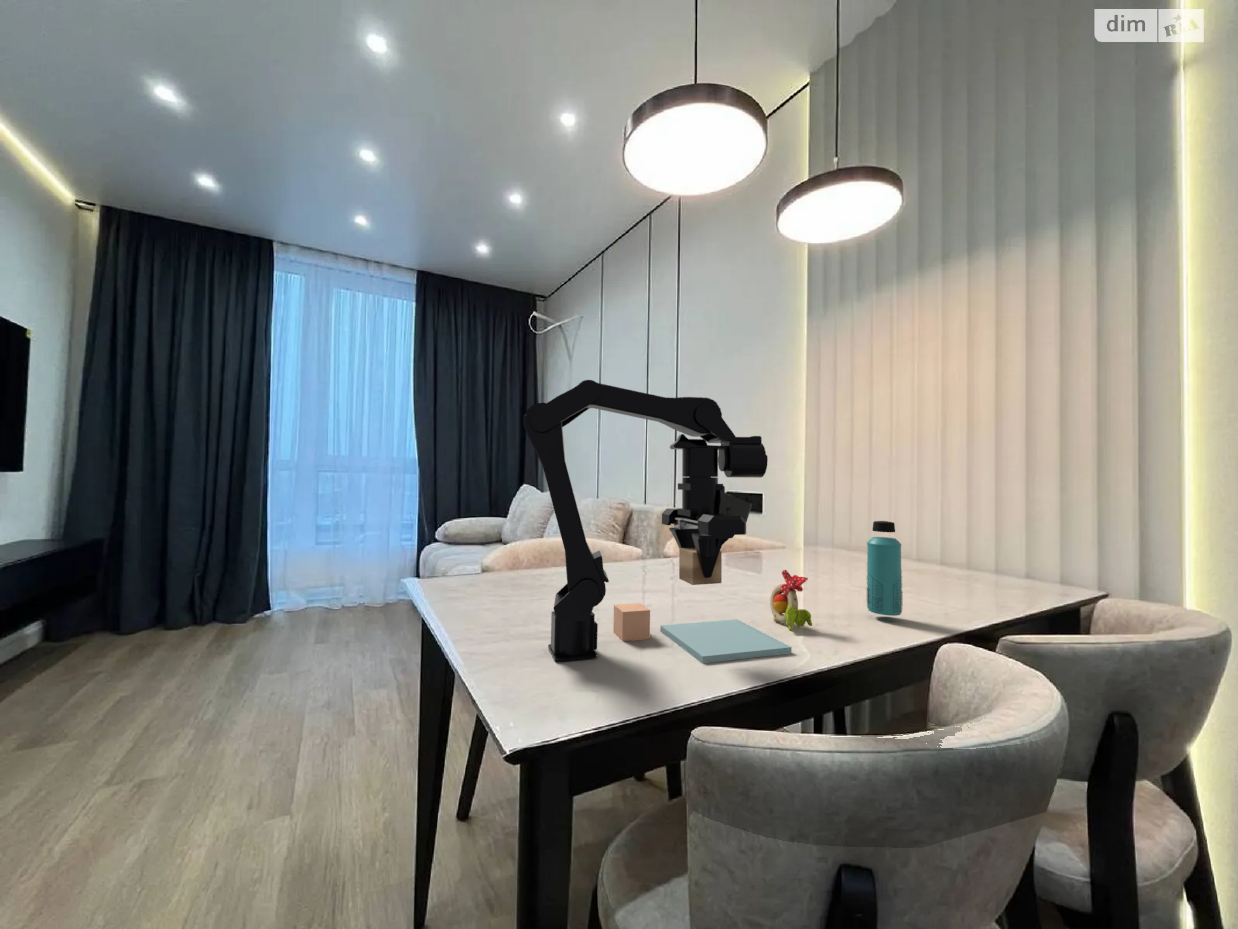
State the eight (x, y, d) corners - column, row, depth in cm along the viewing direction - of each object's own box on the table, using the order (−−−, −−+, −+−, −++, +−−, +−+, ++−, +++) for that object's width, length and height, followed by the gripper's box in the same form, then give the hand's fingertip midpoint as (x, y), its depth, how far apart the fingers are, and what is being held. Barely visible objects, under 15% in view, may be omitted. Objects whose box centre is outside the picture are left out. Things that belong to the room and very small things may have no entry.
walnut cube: (692, 585, 75) (692, 552, 75) (679, 578, 80) (679, 548, 80) (721, 583, 76) (721, 551, 76) (706, 577, 81) (706, 547, 81)
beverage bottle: (909, 624, 96) (909, 522, 97) (875, 623, 96) (876, 522, 97) (891, 614, 103) (891, 520, 103) (859, 614, 103) (860, 519, 103)
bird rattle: (764, 635, 94) (796, 628, 86) (750, 577, 98) (780, 566, 91) (789, 631, 96) (823, 625, 89) (775, 576, 101) (805, 565, 93)
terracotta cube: (622, 641, 82) (622, 612, 82) (613, 632, 87) (613, 604, 87) (649, 639, 84) (650, 610, 84) (639, 630, 88) (640, 603, 89)
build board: (702, 663, 73) (702, 656, 73) (660, 630, 88) (660, 625, 88) (791, 653, 78) (791, 647, 78) (737, 624, 93) (737, 619, 93)
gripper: (777, 477, 72) (778, 583, 71) (716, 477, 90) (716, 562, 89) (710, 477, 69) (710, 588, 68) (660, 477, 87) (660, 565, 86)
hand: (699, 574), depth 78 cm, fingers closed on walnut cube, 5 cm apart
